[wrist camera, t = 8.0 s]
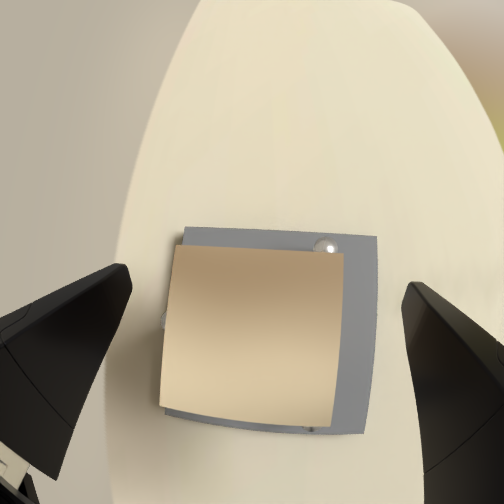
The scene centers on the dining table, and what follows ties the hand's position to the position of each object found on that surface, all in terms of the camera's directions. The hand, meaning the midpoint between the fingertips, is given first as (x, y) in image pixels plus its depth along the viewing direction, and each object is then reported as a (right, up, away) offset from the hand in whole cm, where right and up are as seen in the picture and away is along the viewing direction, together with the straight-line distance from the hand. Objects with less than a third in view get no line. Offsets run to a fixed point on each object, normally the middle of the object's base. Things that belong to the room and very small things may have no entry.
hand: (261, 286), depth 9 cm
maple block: (+1, -3, +7) cm, 8 cm away
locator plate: (+1, -4, +8) cm, 9 cm away
